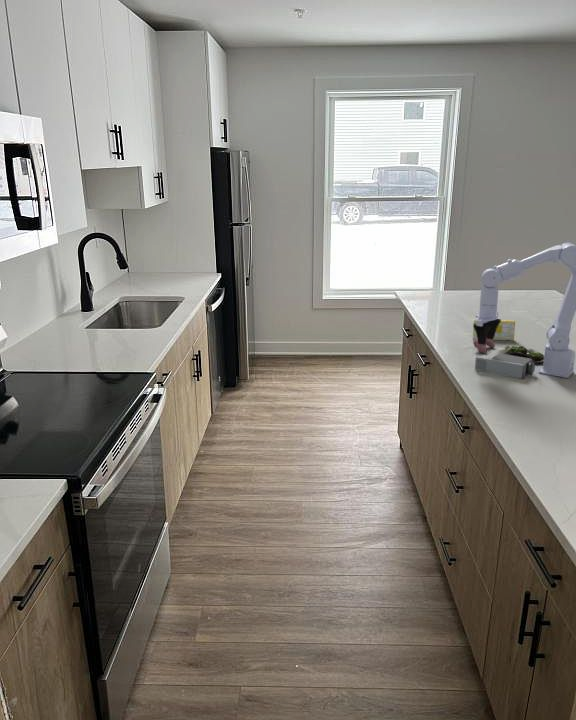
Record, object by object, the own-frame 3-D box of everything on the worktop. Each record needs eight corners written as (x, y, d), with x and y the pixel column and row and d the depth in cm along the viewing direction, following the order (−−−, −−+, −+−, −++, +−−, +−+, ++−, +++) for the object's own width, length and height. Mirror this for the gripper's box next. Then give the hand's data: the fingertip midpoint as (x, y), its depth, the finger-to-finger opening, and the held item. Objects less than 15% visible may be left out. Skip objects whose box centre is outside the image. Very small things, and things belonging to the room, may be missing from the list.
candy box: (513, 339, 243) (515, 320, 241) (513, 341, 242) (515, 321, 239) (472, 338, 248) (473, 318, 245) (472, 339, 246) (473, 320, 243)
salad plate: (485, 351, 231) (486, 340, 229) (530, 349, 231) (531, 338, 230) (505, 367, 212) (507, 355, 211) (554, 365, 213) (555, 353, 211)
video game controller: (486, 350, 236) (479, 334, 236) (496, 346, 233) (489, 330, 233) (476, 356, 229) (469, 339, 229) (486, 353, 226) (480, 336, 226)
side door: (525, 378, 200) (526, 364, 198) (523, 379, 198) (525, 366, 197) (476, 368, 210) (477, 356, 208) (474, 370, 209) (475, 357, 207)
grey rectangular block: (536, 373, 204) (537, 359, 203) (529, 379, 199) (531, 365, 197) (497, 366, 212) (498, 353, 211) (490, 371, 207) (491, 358, 206)
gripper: (485, 298, 212) (483, 335, 216) (468, 306, 201) (466, 344, 206) (505, 300, 208) (502, 337, 212) (489, 309, 197) (486, 347, 201)
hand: (485, 341), depth 208 cm, fingers open, 7 cm apart
